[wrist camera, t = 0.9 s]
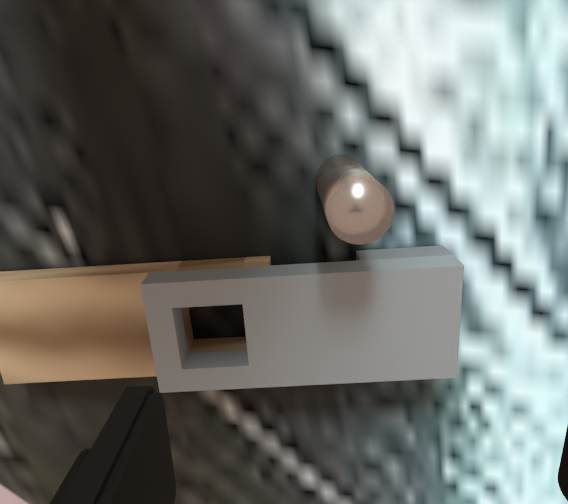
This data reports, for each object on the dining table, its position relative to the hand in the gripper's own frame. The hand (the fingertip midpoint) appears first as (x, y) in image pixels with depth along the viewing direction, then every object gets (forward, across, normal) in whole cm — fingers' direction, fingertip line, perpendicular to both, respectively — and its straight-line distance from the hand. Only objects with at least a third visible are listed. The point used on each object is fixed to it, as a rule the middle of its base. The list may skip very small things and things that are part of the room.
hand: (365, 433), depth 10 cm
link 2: (+22, +1, +7) cm, 23 cm away
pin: (+22, -2, -2) cm, 22 cm away
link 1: (+22, +13, +7) cm, 26 cm away
